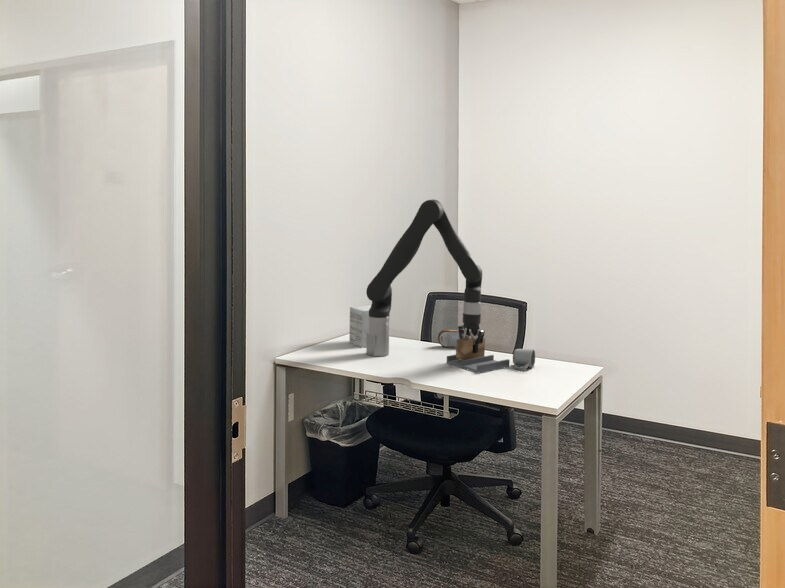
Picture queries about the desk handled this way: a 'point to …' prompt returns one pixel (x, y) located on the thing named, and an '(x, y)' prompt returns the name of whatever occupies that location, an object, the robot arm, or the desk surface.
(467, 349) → the wooden toy brick
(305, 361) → the desk surface
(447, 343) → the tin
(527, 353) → the ceramic mug
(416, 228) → the robot arm
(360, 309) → the supplement box
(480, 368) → the rack
